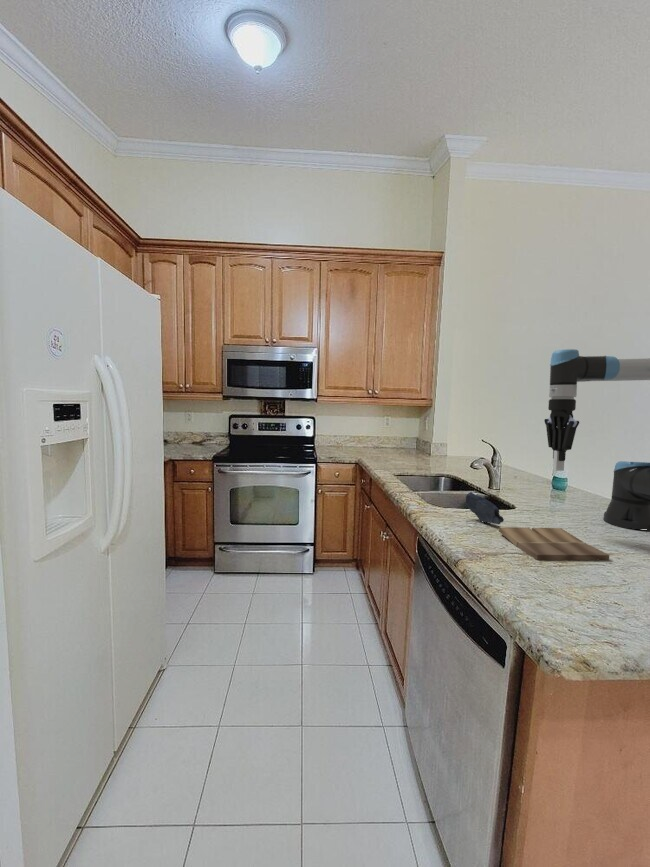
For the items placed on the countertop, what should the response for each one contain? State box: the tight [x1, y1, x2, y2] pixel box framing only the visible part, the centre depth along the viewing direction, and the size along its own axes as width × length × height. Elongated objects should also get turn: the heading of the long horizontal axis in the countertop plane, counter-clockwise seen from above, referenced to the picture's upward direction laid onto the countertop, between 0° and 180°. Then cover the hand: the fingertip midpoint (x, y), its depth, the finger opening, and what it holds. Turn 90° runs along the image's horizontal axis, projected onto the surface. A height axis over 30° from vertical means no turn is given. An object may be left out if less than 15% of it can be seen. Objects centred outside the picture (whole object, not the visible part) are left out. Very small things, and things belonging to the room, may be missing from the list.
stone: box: [465, 491, 505, 525], centre depth 133 cm, size 14×6×10 cm, turn 50°
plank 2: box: [531, 527, 584, 542], centre depth 119 cm, size 10×10×2 cm
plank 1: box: [498, 526, 548, 548], centre depth 118 cm, size 10×10×2 cm
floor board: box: [517, 541, 610, 561], centre depth 108 cm, size 21×9×2 cm, turn 95°
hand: (558, 470), depth 126 cm, fingers closed
